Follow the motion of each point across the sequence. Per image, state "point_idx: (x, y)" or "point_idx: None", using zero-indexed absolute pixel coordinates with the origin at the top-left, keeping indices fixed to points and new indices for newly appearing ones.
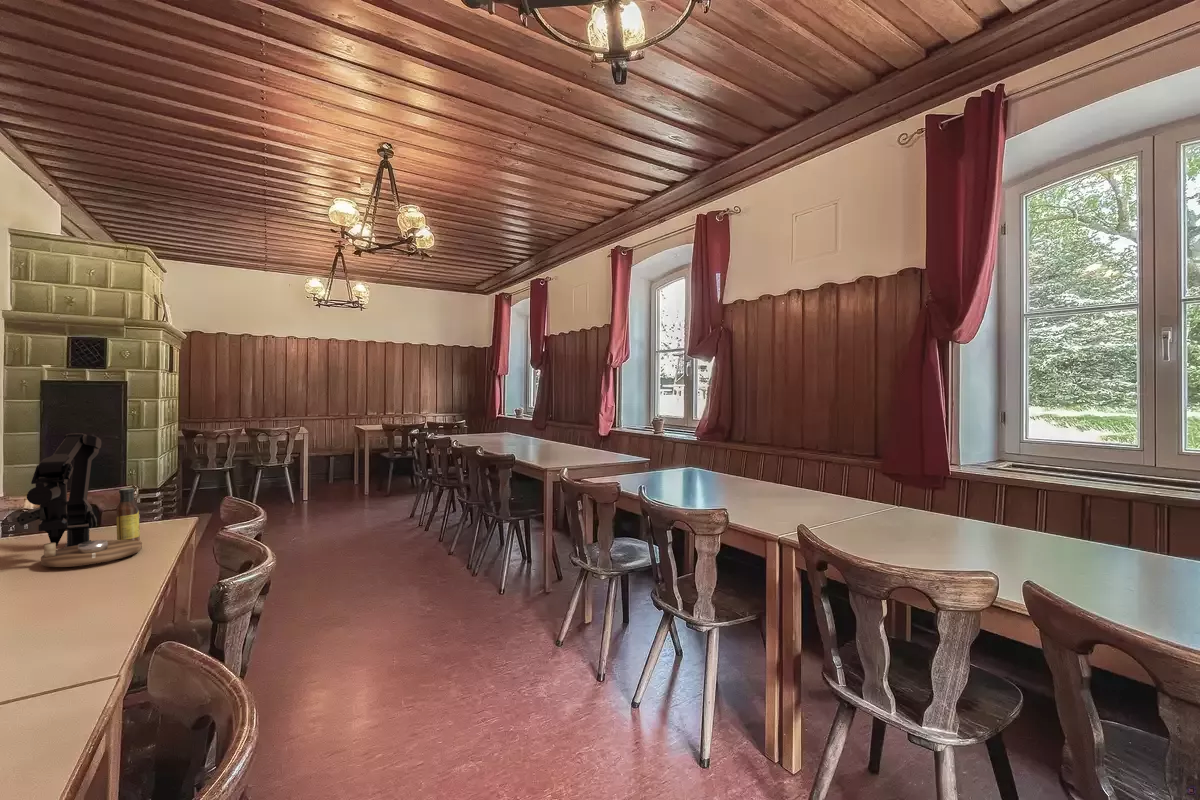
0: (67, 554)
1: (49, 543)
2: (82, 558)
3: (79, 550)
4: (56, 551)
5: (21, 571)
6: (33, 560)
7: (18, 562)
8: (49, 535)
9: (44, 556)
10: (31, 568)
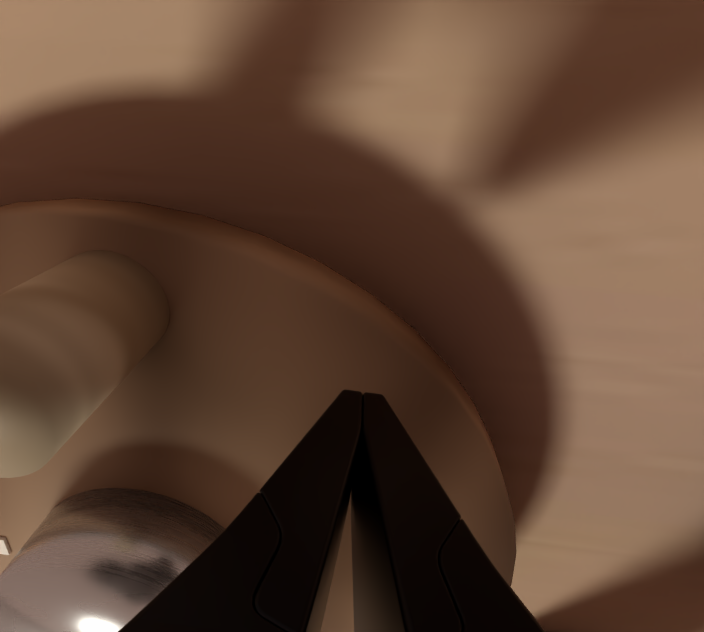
0: (101, 425)
1: (4, 416)
2: None
3: (68, 516)
4: (351, 378)
5: (68, 9)
6: (570, 161)
7: (636, 3)
8: (202, 558)
9: (72, 258)
10: (156, 113)
